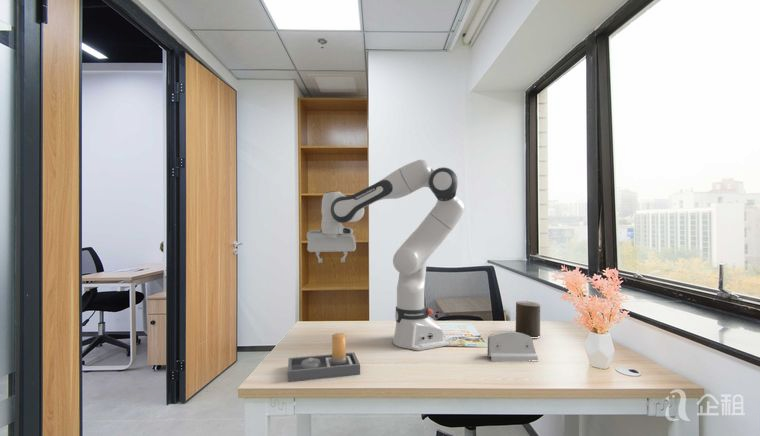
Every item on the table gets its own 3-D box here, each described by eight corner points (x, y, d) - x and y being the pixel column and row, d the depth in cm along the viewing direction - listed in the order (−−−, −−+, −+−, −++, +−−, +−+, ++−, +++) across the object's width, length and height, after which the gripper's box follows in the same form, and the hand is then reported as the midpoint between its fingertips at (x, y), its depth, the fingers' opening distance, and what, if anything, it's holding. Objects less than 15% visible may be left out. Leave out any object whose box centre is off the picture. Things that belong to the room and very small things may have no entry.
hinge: (491, 361, 119) (487, 331, 123) (487, 361, 124) (484, 331, 127) (539, 361, 119) (535, 331, 123) (533, 361, 124) (529, 332, 127)
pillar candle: (525, 339, 142) (525, 303, 142) (510, 332, 151) (511, 298, 152) (545, 338, 144) (545, 302, 144) (530, 331, 154) (530, 297, 154)
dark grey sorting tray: (354, 360, 119) (354, 348, 120) (360, 374, 109) (360, 361, 109) (288, 367, 114) (288, 354, 114) (287, 381, 103) (288, 367, 104)
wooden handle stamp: (345, 362, 116) (345, 332, 116) (347, 368, 111) (347, 337, 111) (330, 363, 114) (330, 333, 114) (332, 369, 110) (332, 338, 110)
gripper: (307, 229, 141) (306, 263, 140) (356, 229, 146) (356, 262, 145) (306, 229, 147) (306, 262, 146) (354, 229, 152) (353, 261, 151)
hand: (331, 262), depth 146 cm, fingers open, 8 cm apart
